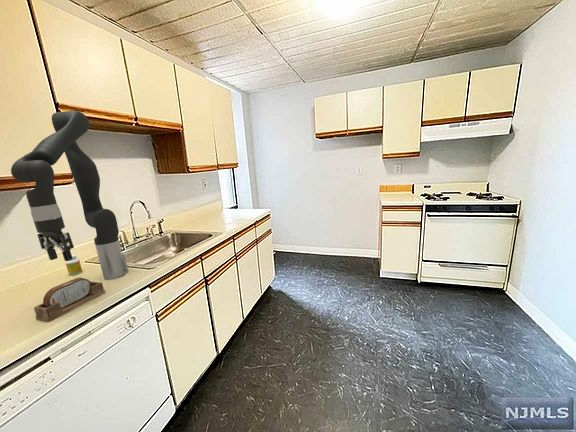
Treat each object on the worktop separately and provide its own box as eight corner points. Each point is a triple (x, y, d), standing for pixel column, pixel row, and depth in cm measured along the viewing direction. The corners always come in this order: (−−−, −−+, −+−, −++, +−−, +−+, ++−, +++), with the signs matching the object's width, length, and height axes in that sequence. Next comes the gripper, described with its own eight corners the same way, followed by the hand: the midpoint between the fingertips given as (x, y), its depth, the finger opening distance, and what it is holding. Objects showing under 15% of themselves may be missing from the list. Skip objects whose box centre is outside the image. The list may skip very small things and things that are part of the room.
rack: (36, 319, 90) (32, 307, 89) (94, 291, 108) (91, 281, 107) (48, 322, 87) (44, 310, 86) (105, 292, 106) (102, 282, 105)
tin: (90, 292, 104) (84, 273, 102) (95, 293, 103) (90, 274, 101) (46, 313, 90) (39, 292, 89) (51, 314, 89) (44, 293, 88)
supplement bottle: (71, 276, 126) (66, 258, 124) (67, 274, 129) (62, 257, 127) (84, 272, 130) (79, 254, 128) (80, 270, 133) (75, 253, 131)
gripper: (22, 220, 89) (37, 263, 92) (47, 220, 84) (62, 265, 88) (47, 215, 96) (60, 255, 99) (72, 214, 91) (85, 256, 95)
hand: (61, 259), depth 94 cm, fingers open, 8 cm apart
